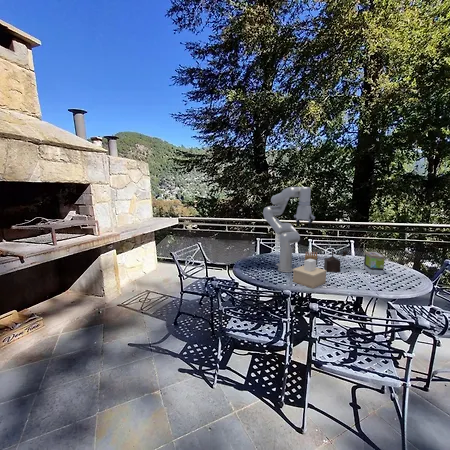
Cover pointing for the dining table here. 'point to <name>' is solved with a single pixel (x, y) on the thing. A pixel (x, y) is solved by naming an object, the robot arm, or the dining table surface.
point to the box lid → (312, 273)
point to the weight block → (310, 265)
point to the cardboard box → (309, 279)
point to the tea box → (374, 262)
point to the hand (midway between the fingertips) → (303, 227)
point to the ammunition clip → (311, 256)
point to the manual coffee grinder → (333, 262)
